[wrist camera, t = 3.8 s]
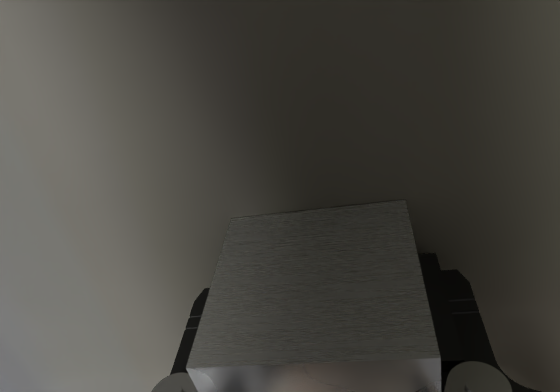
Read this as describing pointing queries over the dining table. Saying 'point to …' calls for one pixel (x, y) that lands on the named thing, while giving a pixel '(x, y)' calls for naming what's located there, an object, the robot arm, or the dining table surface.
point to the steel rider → (318, 306)
